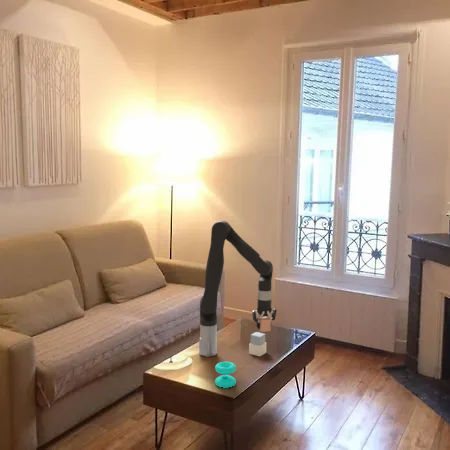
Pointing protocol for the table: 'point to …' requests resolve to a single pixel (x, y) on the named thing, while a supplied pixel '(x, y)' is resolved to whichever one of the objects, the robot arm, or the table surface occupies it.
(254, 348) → the cream base block
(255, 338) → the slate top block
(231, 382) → the donuts
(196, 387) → the table surface
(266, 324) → the terracotta block
